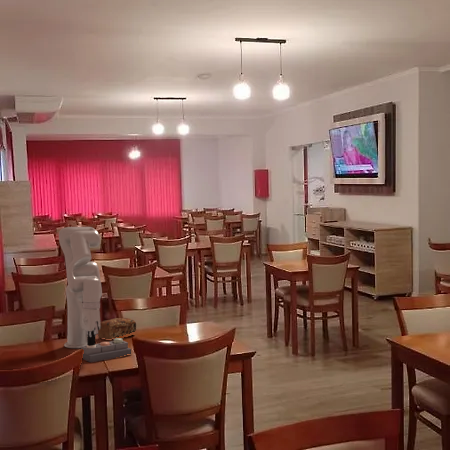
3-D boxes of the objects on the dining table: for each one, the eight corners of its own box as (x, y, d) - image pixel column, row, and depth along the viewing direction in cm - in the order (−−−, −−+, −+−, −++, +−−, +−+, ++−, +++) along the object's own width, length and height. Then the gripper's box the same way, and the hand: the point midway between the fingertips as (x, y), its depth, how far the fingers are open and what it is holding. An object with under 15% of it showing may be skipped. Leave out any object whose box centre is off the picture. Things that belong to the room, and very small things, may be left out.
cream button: (84, 350, 275) (84, 344, 275) (93, 349, 278) (93, 343, 278) (89, 352, 272) (89, 346, 272) (97, 350, 275) (97, 345, 275)
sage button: (112, 344, 284) (112, 338, 284) (119, 343, 287) (119, 337, 287) (116, 346, 281) (116, 340, 281) (124, 344, 284) (124, 339, 284)
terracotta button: (98, 348, 280) (98, 342, 280) (106, 346, 283) (106, 341, 283) (103, 350, 277) (103, 344, 277) (111, 348, 279) (111, 343, 279)
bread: (109, 341, 309) (109, 322, 308) (96, 338, 315) (96, 319, 315) (137, 336, 323) (137, 317, 322) (124, 332, 330) (124, 314, 329)
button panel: (78, 357, 278) (78, 345, 277) (118, 350, 291) (118, 338, 291) (90, 362, 268) (90, 350, 268) (131, 355, 282) (131, 343, 282)
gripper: (76, 303, 278) (76, 343, 278) (91, 308, 266) (91, 349, 267) (91, 302, 282) (91, 341, 283) (106, 306, 271) (106, 347, 272)
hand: (91, 345), depth 275 cm, fingers closed
